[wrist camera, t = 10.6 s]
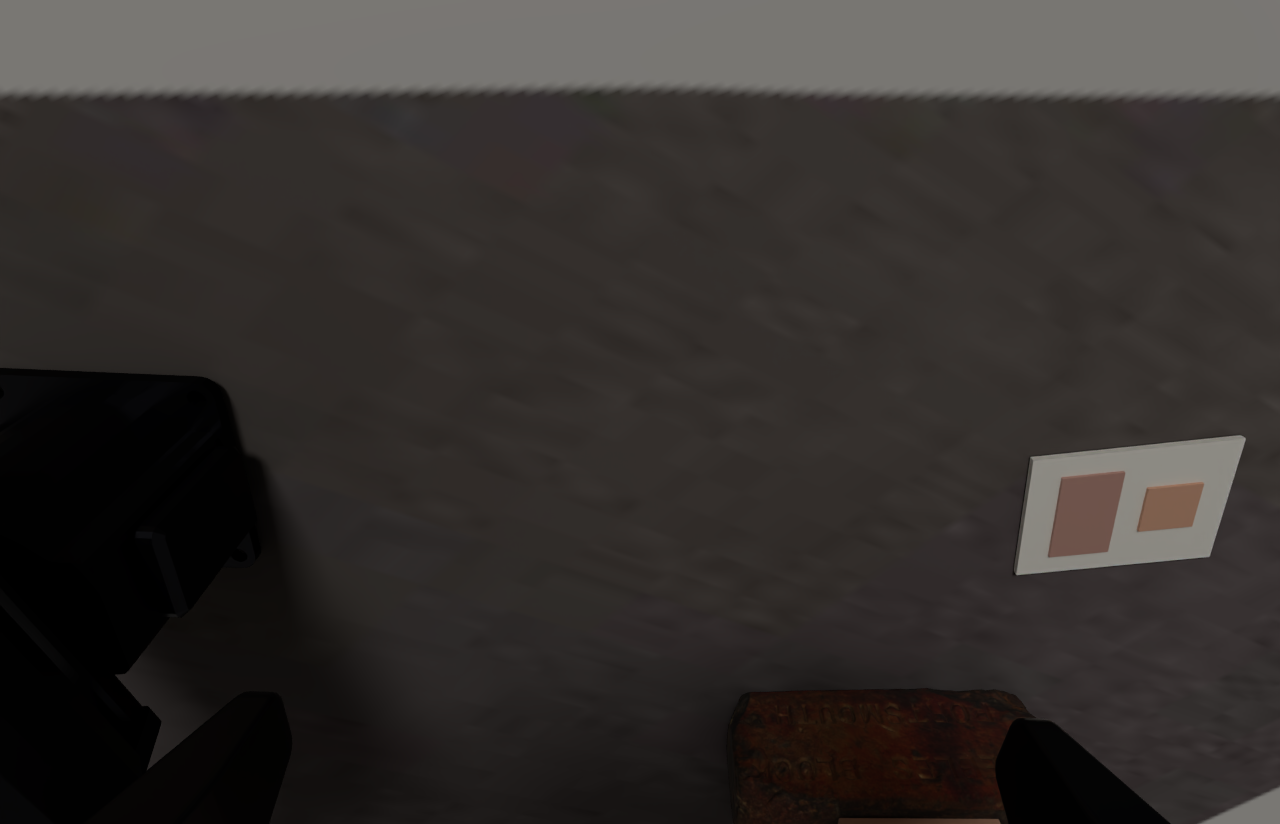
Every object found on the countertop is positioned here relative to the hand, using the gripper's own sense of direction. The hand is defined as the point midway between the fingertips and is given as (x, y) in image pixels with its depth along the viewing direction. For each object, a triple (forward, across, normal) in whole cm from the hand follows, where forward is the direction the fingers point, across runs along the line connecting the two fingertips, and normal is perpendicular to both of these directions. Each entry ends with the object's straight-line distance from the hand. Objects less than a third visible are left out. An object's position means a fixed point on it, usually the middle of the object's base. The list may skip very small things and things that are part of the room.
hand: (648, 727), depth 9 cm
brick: (+13, -9, +15) cm, 22 cm away
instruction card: (+12, -15, +5) cm, 20 cm away
